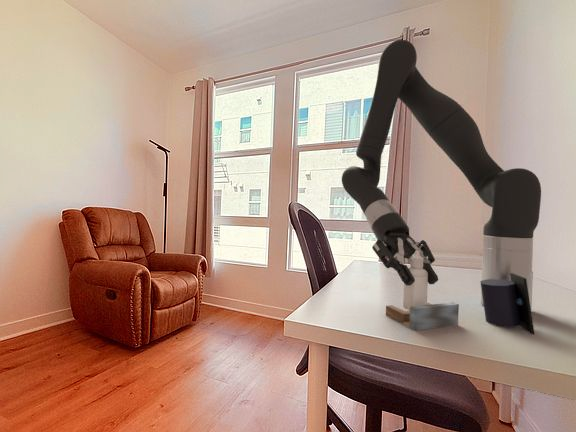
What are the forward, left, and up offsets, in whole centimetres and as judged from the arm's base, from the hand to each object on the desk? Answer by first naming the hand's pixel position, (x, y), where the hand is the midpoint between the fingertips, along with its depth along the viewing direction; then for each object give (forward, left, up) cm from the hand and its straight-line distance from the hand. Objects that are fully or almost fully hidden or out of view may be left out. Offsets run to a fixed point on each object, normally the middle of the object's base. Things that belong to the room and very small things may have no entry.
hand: (422, 282), depth 53 cm
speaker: (-15, +6, -8) cm, 18 cm away
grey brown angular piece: (0, 0, -8) cm, 8 cm away
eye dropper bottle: (0, -2, -6) cm, 6 cm away
